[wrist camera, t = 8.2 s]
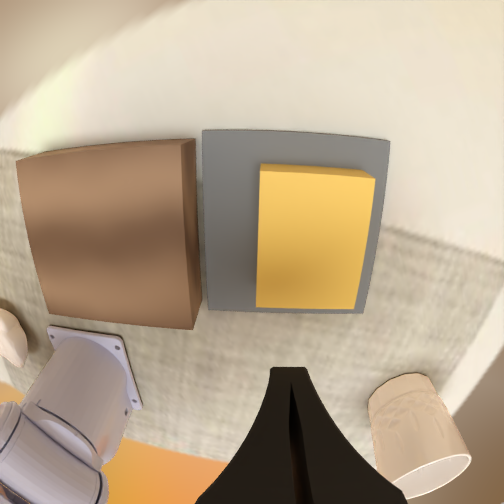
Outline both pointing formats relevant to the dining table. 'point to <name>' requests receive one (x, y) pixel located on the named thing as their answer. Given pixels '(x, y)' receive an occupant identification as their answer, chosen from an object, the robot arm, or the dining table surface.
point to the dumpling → (12, 339)
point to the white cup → (415, 436)
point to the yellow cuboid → (311, 235)
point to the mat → (247, 204)
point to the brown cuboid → (116, 231)
